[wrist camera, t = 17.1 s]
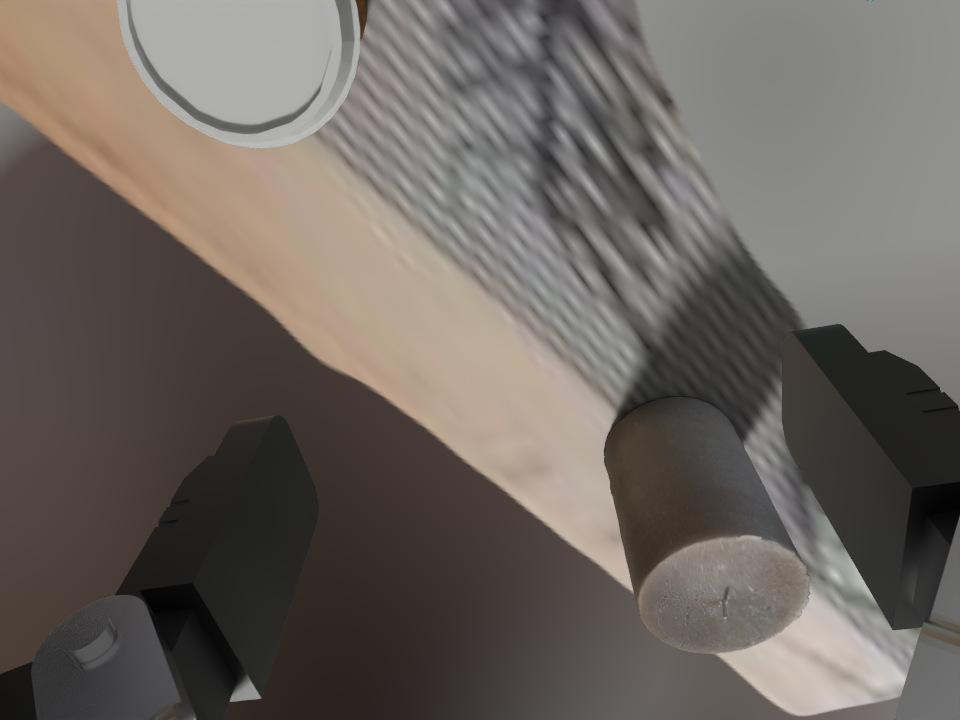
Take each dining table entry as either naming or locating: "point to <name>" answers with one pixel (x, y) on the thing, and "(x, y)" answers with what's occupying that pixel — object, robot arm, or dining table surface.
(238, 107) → the disposable coffee cup
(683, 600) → the pillar candle
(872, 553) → the robot arm
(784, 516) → the dining table surface
